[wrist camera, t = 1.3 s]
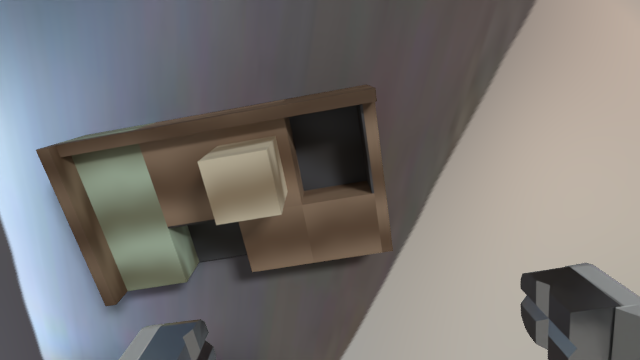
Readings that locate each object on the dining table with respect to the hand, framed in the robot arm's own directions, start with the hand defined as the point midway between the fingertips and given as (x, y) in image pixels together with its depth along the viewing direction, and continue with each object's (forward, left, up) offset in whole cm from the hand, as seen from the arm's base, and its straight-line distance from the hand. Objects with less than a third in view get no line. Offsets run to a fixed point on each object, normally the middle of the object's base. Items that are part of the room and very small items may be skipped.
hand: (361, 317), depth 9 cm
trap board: (+4, -10, -25) cm, 27 cm away
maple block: (+1, -7, -21) cm, 22 cm away
